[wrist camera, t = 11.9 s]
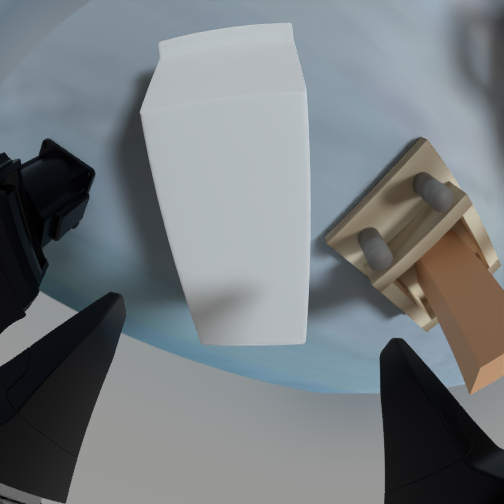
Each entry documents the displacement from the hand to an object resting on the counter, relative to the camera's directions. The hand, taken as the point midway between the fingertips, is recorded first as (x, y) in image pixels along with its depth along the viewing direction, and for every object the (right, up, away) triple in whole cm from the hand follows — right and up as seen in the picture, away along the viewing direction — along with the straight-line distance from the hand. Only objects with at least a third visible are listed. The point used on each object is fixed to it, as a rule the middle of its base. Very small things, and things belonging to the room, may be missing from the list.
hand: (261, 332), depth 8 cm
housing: (+14, +4, +12) cm, 19 cm away
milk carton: (0, -2, +13) cm, 13 cm away
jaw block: (+16, +2, +12) cm, 20 cm away
